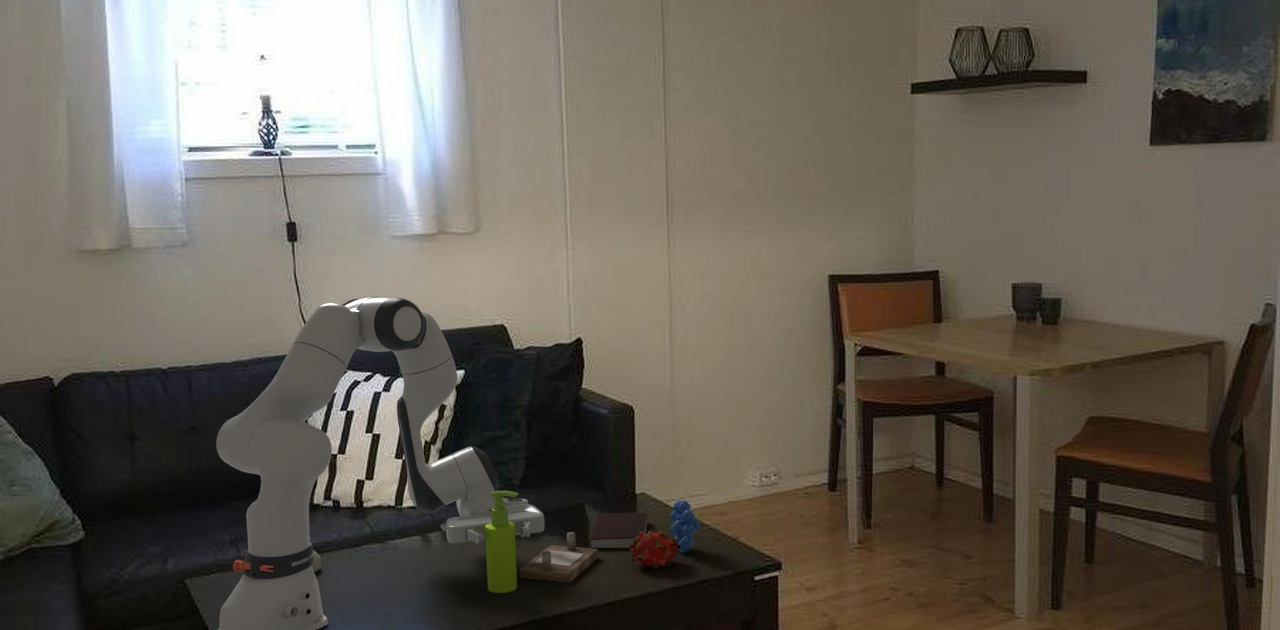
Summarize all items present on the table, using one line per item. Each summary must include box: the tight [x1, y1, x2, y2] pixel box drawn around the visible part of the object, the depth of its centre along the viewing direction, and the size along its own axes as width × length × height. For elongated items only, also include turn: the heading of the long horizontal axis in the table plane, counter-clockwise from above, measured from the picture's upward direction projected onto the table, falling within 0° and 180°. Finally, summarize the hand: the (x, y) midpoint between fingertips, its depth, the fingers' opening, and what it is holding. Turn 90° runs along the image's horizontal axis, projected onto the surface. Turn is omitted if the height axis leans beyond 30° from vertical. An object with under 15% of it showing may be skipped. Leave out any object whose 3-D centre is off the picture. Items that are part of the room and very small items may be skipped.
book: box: [588, 512, 648, 549], centre depth 259 cm, size 12×19×3 cm, turn 177°
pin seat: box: [519, 531, 599, 584], centre depth 238 cm, size 16×11×6 cm
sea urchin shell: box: [312, 549, 322, 573], centre depth 240 cm, size 9×8×8 cm
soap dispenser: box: [485, 490, 520, 594], centre depth 226 cm, size 6×7×20 cm
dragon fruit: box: [628, 529, 680, 570], centre depth 238 cm, size 8×8×12 cm
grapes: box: [669, 500, 702, 554], centre depth 246 cm, size 12×7×12 cm, turn 17°
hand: (503, 536), depth 225 cm, fingers open, 8 cm apart
